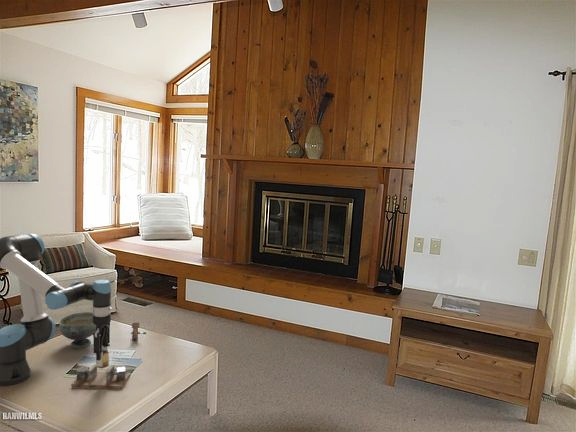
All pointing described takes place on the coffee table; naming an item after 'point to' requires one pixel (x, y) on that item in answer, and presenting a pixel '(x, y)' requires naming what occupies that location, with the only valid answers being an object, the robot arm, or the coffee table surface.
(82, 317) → the bowl
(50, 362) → the coffee table surface
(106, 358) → the gold rounded cylinder
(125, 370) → the grey block with shaft
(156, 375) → the coffee table surface
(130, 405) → the coffee table surface
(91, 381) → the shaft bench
